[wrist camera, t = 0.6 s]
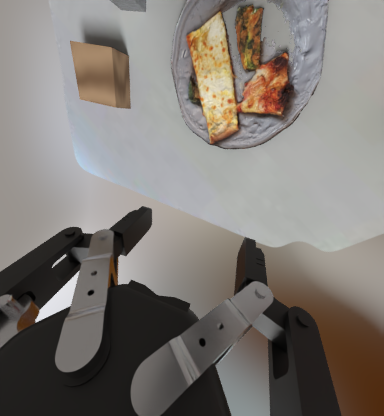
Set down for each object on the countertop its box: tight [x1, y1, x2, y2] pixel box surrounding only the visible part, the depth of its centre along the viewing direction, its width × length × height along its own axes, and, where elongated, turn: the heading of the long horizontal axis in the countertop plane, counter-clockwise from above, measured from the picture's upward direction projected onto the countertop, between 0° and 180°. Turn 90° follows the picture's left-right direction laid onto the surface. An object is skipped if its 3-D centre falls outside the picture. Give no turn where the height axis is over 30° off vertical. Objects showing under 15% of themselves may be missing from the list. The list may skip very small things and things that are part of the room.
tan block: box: [70, 41, 130, 109], centre depth 33 cm, size 9×9×5 cm
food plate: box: [170, 0, 329, 149], centre depth 27 cm, size 25×23×4 cm
